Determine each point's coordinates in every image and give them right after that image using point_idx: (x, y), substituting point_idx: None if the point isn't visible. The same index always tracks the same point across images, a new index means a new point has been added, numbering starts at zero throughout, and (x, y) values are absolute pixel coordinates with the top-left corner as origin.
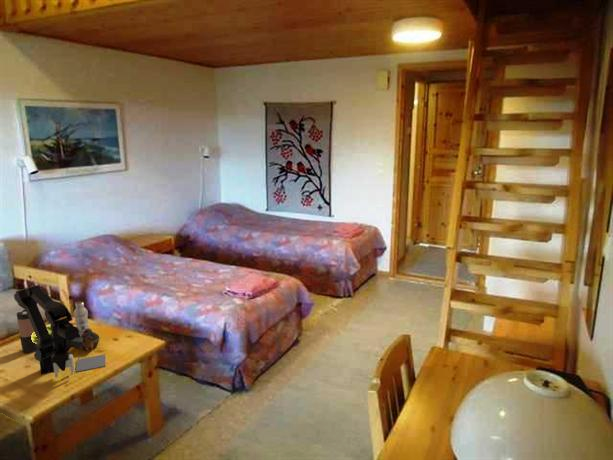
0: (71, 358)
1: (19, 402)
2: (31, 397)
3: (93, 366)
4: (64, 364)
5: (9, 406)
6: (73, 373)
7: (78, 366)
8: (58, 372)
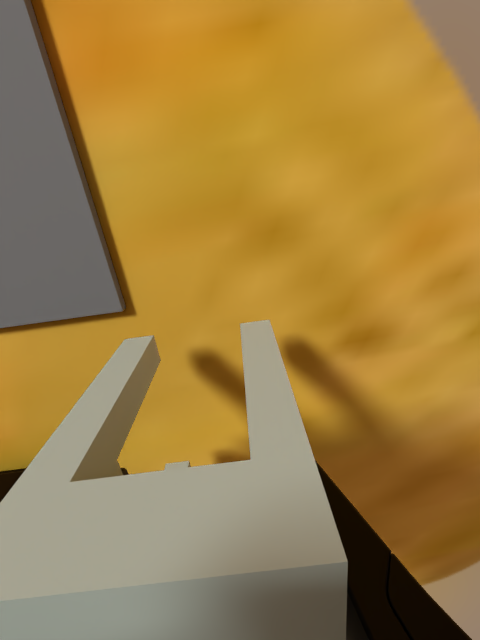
0: (285, 572)
1: (449, 544)
2: (426, 509)
3: (5, 99)
4: (389, 563)
5: (463, 568)
6: (270, 323)
7: (3, 305)
8: (188, 464)
